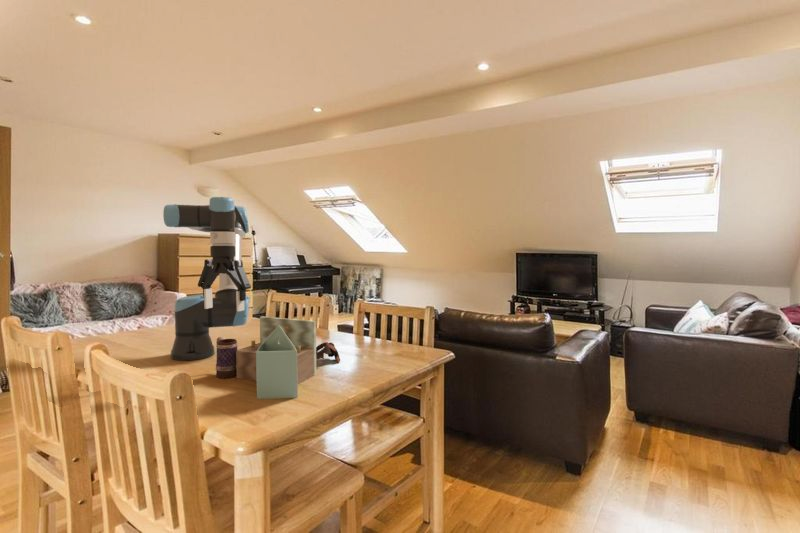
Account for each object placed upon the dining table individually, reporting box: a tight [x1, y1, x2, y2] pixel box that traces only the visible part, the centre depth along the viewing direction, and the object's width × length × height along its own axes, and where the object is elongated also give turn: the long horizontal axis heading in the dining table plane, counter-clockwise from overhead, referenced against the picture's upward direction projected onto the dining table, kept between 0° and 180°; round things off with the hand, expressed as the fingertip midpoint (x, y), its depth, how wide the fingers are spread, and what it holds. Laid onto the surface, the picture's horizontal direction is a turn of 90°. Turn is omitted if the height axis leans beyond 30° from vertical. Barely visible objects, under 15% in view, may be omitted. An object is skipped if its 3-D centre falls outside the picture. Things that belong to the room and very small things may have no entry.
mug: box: [215, 336, 238, 380], centre depth 139 cm, size 10×7×12 cm
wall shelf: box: [236, 315, 317, 385], centre depth 137 cm, size 22×13×18 cm, turn 68°
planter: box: [256, 325, 299, 400], centre depth 120 cm, size 16×8×20 cm, turn 52°
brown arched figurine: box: [316, 341, 341, 364], centre depth 155 cm, size 12×10×8 cm
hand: (224, 309), depth 137 cm, fingers open, 13 cm apart
